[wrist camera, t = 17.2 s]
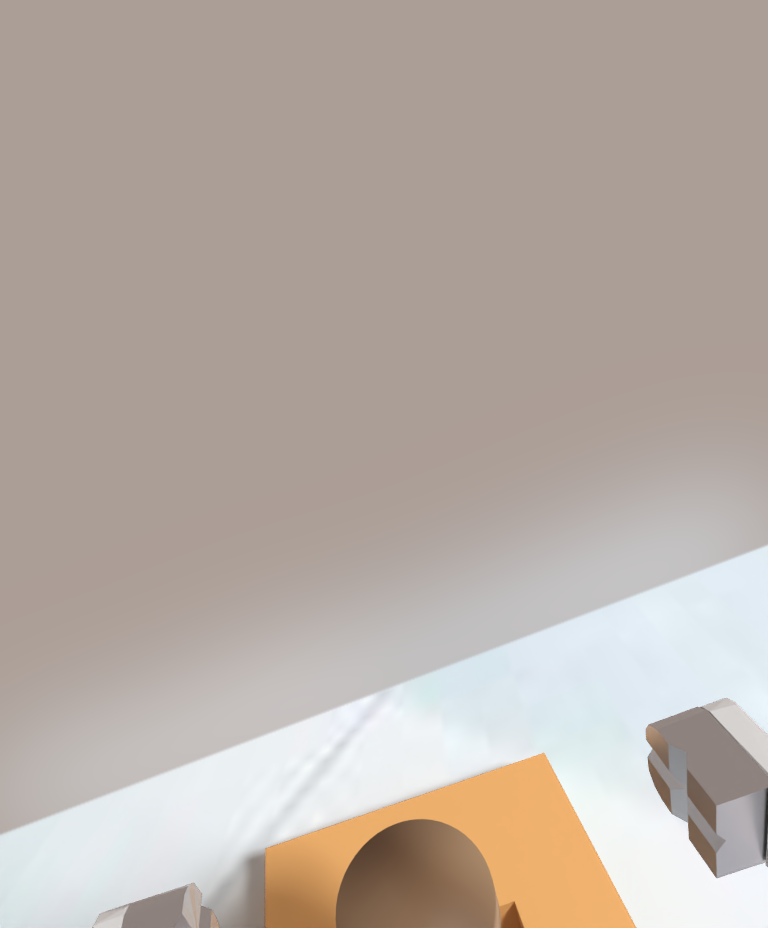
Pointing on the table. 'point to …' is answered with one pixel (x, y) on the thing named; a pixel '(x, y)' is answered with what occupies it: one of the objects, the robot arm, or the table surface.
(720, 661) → the table surface
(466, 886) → the cord spool
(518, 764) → the orange notched slab
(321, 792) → the table surface
